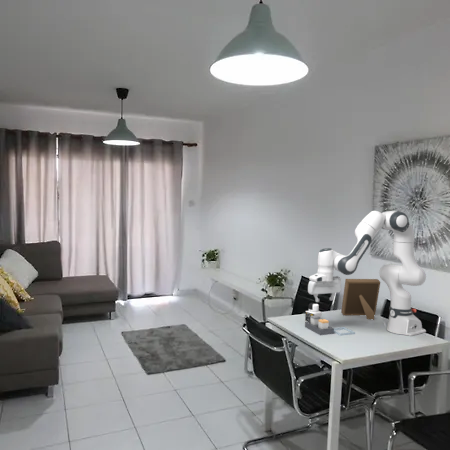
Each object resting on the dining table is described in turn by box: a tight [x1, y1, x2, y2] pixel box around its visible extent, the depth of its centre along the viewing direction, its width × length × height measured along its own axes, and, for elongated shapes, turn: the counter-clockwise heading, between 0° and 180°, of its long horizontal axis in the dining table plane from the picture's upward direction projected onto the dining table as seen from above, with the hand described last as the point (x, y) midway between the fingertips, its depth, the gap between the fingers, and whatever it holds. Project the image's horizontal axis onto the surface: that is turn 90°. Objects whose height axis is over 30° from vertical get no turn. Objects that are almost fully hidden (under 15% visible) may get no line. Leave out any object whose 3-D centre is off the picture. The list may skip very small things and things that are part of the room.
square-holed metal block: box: [304, 321, 335, 336], centre depth 243 cm, size 16×9×4 cm, turn 21°
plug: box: [318, 318, 330, 329], centre depth 239 cm, size 4×4×7 cm
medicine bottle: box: [304, 302, 323, 322], centre depth 261 cm, size 7×7×12 cm
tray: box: [333, 326, 356, 337], centre depth 240 cm, size 10×10×2 cm
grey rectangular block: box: [311, 315, 322, 325], centre depth 246 cm, size 4×4×7 cm
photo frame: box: [340, 278, 381, 321], centre depth 275 cm, size 15×22×25 cm
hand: (324, 301), depth 238 cm, fingers open, 8 cm apart
